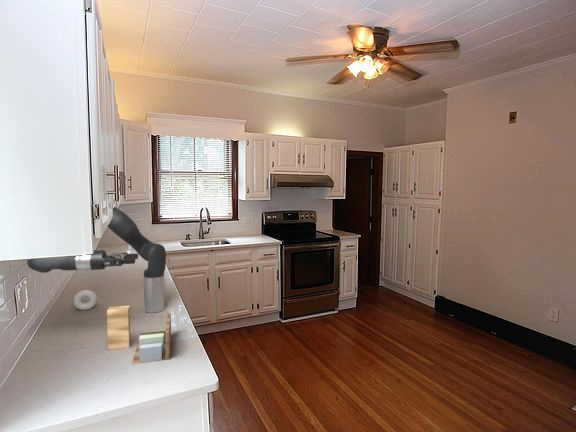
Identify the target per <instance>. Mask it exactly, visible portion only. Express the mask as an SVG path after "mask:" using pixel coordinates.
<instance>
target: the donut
mask: <svg viewBox="0 0 576 432" xmlns="http://www.w3.org/2000/svg"><path fill="white" fill-rule="evenodd" d="M83 298H88V300H89V301H88V302H83V300H82V299H83ZM97 302H98V295H96V293H95V292H94V291H93V290H90V289H84V290H81V291H78V292H77V293H76V294H75V296H74V297H73V306H75V308H76V309H78V310H81V311H87V310H91V309H92V308H93V307H94V306H95V305H97Z"/></svg>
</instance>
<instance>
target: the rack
mask: <svg viewBox="0 0 576 432" xmlns="http://www.w3.org/2000/svg"><path fill="white" fill-rule="evenodd" d="M158 333H164V355H163V356H162V360H156V361H148V362H140V358H139V340H138V342H137V345H136V348H135V352H134V354H133V358H132V361H131V365H137V364H144V363H145V364H146V363H151V362H152V363H153V362H154V363H155V362H161V361H169V360H170V356H171V355H170V354H171V342H172V341H171V340H172V312H171V311H168V312H167V314H166V323H165V330H161V331H150V332H141V333H140V335H149V334H158Z"/></svg>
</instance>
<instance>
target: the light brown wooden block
mask: <svg viewBox="0 0 576 432" xmlns="http://www.w3.org/2000/svg"><path fill="white" fill-rule="evenodd" d="M106 319H107V321H106V322H107V323H106V324H107V328H106V329H107V351H116V350H126V349H130V346H131V343H132V342H131V335H132V333H131V305H123V306H121V305H120V306H110V307H108V309H107V311H106Z"/></svg>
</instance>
